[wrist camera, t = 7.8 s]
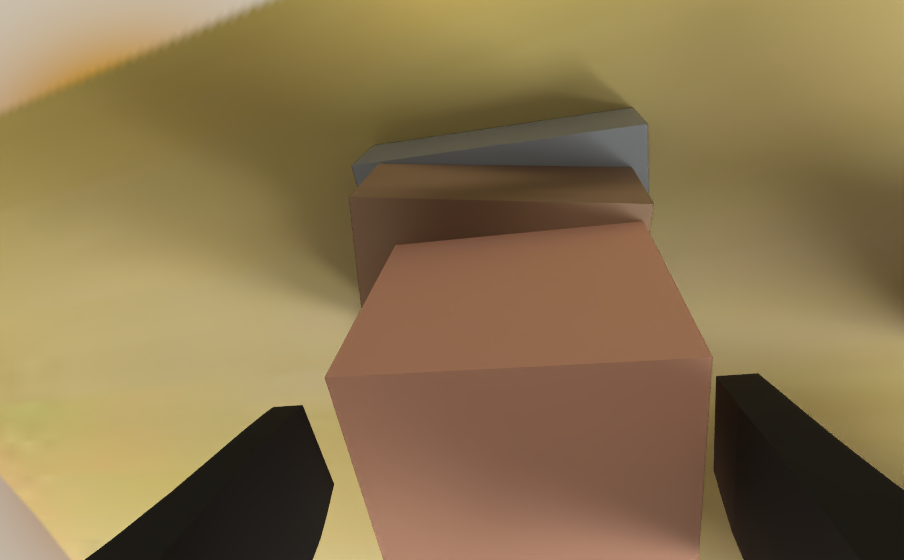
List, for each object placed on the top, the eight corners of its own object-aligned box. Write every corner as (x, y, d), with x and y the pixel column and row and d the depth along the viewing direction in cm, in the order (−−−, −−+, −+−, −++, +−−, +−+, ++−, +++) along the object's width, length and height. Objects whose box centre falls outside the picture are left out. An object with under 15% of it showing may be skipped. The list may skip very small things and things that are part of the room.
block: (643, 221, 10) (712, 357, 7) (643, 419, 13) (694, 610, 9) (395, 245, 11) (324, 377, 7) (435, 426, 14) (397, 602, 10)
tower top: (632, 167, 12) (653, 204, 10) (603, 375, 15) (616, 439, 13) (378, 163, 13) (348, 197, 11) (395, 363, 16) (374, 421, 14)
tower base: (630, 104, 14) (647, 123, 12) (635, 328, 17) (650, 376, 15) (377, 141, 16) (351, 165, 13) (423, 343, 19) (409, 390, 16)
